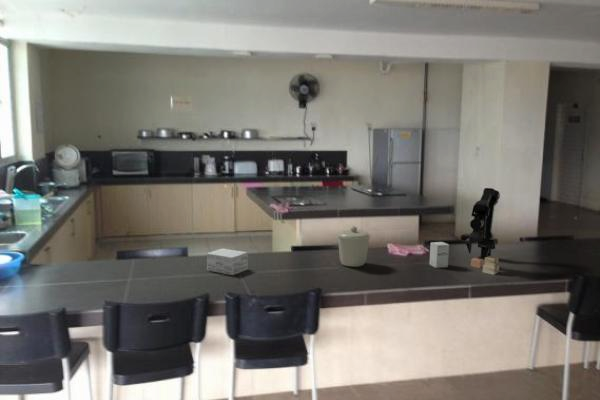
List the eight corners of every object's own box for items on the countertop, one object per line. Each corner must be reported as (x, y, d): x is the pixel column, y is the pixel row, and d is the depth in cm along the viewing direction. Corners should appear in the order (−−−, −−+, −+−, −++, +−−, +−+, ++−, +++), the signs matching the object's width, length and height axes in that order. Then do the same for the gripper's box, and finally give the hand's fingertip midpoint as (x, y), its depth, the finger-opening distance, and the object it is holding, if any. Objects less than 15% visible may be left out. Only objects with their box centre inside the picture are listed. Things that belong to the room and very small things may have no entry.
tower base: (487, 270, 273) (487, 262, 273) (498, 272, 269) (499, 265, 269) (482, 272, 269) (482, 265, 268) (493, 274, 265) (494, 267, 264)
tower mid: (488, 263, 272) (489, 255, 272) (497, 265, 269) (498, 257, 268) (484, 265, 269) (484, 257, 268) (493, 266, 265) (494, 259, 265)
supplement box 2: (248, 269, 267) (248, 252, 266) (232, 275, 256) (232, 257, 255) (222, 264, 276) (222, 247, 274) (206, 270, 265) (206, 252, 263)
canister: (368, 270, 269) (369, 230, 266) (333, 267, 272) (334, 228, 269) (370, 261, 286) (371, 224, 283) (338, 259, 290) (339, 222, 287)
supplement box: (436, 268, 275) (437, 245, 273) (429, 264, 282) (430, 242, 280) (448, 267, 277) (449, 244, 275) (441, 263, 284) (442, 241, 282)
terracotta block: (474, 264, 284) (475, 257, 283) (483, 266, 280) (483, 259, 280) (470, 266, 280) (471, 259, 280) (479, 268, 277) (480, 261, 276)
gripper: (456, 226, 278) (454, 254, 280) (490, 231, 265) (488, 260, 267) (466, 223, 286) (464, 250, 288) (499, 228, 273) (497, 257, 275)
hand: (477, 254), depth 279 cm, fingers open, 9 cm apart
